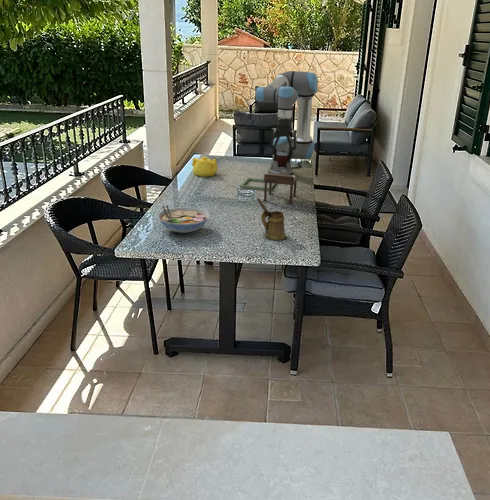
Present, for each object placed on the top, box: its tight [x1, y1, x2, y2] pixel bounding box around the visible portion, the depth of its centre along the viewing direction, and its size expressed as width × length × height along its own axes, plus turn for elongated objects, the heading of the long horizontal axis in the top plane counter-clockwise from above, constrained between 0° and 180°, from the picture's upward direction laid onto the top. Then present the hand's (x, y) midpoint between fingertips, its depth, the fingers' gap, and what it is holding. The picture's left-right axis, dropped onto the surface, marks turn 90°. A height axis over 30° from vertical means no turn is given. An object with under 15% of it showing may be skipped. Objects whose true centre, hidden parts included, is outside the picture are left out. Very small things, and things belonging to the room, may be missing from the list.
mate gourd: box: [276, 138, 293, 167], centre depth 270 cm, size 8×8×15 cm
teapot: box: [191, 156, 219, 178], centre depth 319 cm, size 20×18×11 cm
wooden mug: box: [256, 197, 286, 241], centre depth 223 cm, size 9×14×18 cm, turn 94°
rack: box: [263, 172, 299, 205], centre depth 277 cm, size 16×16×15 cm
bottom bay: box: [240, 177, 276, 192], centre depth 302 cm, size 18×18×2 cm
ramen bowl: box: [157, 204, 210, 234], centre depth 227 cm, size 25×23×8 cm
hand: (282, 161), depth 272 cm, fingers closed on mate gourd, 7 cm apart
